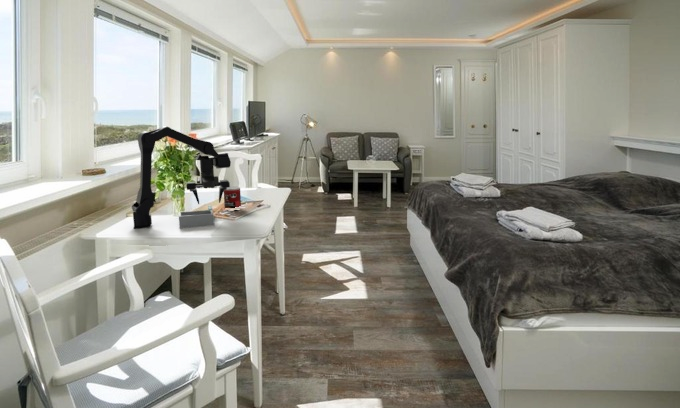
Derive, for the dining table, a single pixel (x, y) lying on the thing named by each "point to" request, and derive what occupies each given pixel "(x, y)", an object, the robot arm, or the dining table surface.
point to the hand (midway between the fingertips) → (209, 203)
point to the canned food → (232, 197)
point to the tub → (196, 218)
